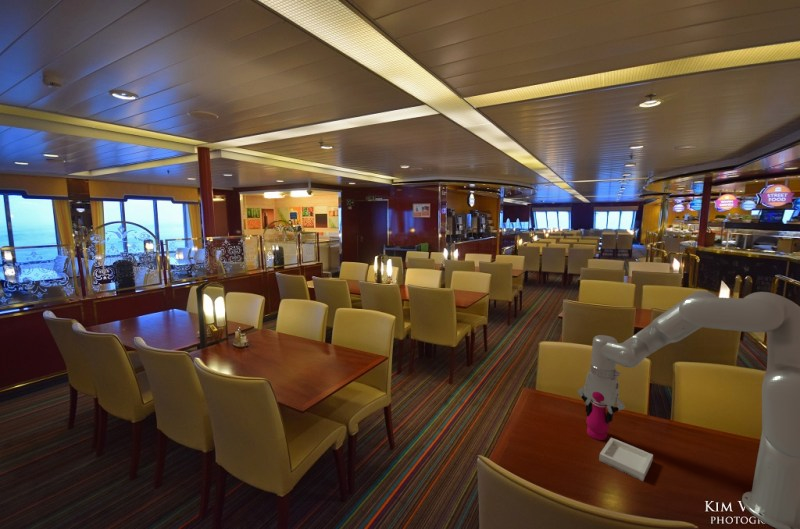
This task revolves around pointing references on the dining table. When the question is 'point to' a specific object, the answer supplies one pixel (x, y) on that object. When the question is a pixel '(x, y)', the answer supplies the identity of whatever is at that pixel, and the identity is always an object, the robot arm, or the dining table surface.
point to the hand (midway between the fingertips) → (598, 417)
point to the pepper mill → (597, 418)
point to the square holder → (626, 458)
